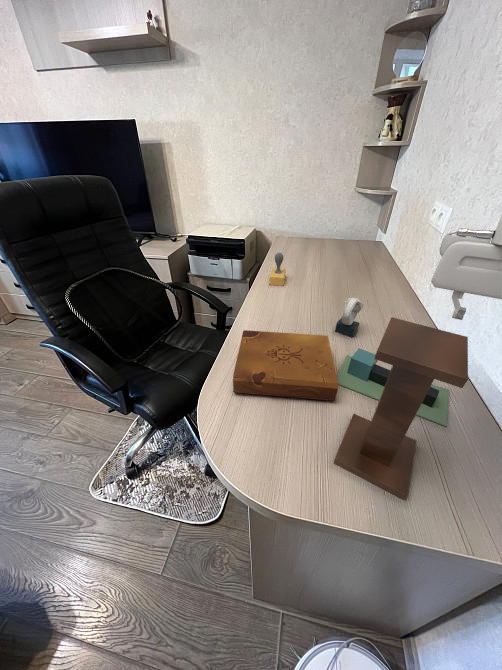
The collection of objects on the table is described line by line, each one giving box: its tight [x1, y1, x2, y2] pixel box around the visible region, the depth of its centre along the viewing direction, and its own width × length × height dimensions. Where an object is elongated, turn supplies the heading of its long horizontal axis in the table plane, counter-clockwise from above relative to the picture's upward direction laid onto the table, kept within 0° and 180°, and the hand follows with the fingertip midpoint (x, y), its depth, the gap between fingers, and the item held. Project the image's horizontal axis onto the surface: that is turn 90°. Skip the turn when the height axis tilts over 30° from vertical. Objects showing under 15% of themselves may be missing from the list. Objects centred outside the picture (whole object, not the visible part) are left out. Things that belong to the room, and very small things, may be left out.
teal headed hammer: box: [347, 347, 439, 408], centre depth 65 cm, size 5×19×5 cm, turn 51°
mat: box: [336, 355, 450, 428], centre depth 66 cm, size 24×12×1 cm, turn 57°
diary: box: [232, 329, 339, 402], centre depth 69 cm, size 23×19×6 cm
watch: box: [334, 297, 364, 339], centre depth 83 cm, size 6×8×11 cm
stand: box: [333, 316, 469, 501], centre depth 45 cm, size 12×12×26 cm
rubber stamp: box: [269, 252, 287, 287], centre depth 114 cm, size 10×6×12 cm, turn 171°
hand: (492, 326), depth 44 cm, fingers open, 8 cm apart
